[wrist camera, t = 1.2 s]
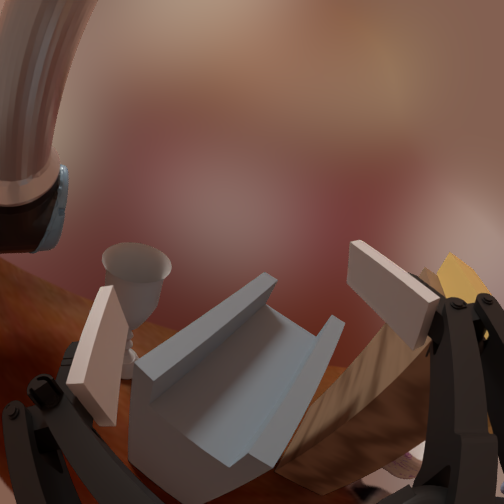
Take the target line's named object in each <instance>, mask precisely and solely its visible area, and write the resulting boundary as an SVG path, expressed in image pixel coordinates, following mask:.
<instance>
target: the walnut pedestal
mask: <svg viewBox="0 0 504 504" xmlns="http://www.w3.org/2000/svg"><path fill="white" fill-rule="evenodd" d="M419 278H420V279H422V280H423V281H424V282H426V283H427V284H428V285H429V286H431V287H432V288H434V289H435V290H436V291H438V292H439V293H440V294H442V295H443V296H444V297H446V296H445V294H444V291H443V288H442V286H441V283H440V280H439V278H438V276H437V275H435V274H434V273H433V272H431V271H430V270H428V269H427V268H426V267H425V268H424V269H423V271H422V272H421V274H420V276H419ZM431 340H432V339H431V338H430V337H429V336H427V338H426V341H425V344H424V345H423V346H421V347H419V348H417V349H415V350H412V349H411V348H410V347H409V346H408V345H407V344H406V343H405V342H404V341H403V340H402V339H401V338H400V337H399V336H398V335H397V334H396V332H395V331H394V330H393V329H392V328H391V327H390V326H389V325H388V324H387V323H385V324H384V326H383V327H382V328H381V330H380V331H379V332H378V333H377V334H376V336H375V337H374V338H373V339H372V340H371V342H370V343H369V344H368V345H367V346H366V348H365V349H364V350H363V351H362V352H361V353H360V355H359V356H358V357H357V358H356V359H355V360H354V361H353V363H352V364H351V365H350V366H349V367H348V368H347V369H346V370H345V371H344V373H343V374H342V375H341V376H340V377H339V378H338V379H337V380H336V381H335V382H334V383H333V384H332V385H331V386H330V387H329V388H328V389H327V390H326V391H325V392H324V393H323V394H322V395H321V396H320V397H319V398H318V399H317V400H316V401H315V402H314V403H313V404H312V405H311V406H310V408H309V410H308V412H307V414H306V416H305V418H304V420H303V421H302V423H301V425H300V427H299V429H298V431H297V433H296V435H295V436H294V438H293V440H292V442H291V444H290V445H289V447H288V449H287V451H286V452H285V454H284V456H283V457H282V459H281V461H280V462H279V464H278V466H277V467H276V469H275V471H274V472H276V473H278V474H279V475H281V476H283V477H285V478H287V479H289V480H291V481H293V482H295V483H296V484H298V485H300V486H303V487H305V488H307V489H309V490H311V491H313V492H315V493H317V494H320V495H325V494H327V493H330V492H332V491H335V490H337V489H339V488H342V487H344V486H346V485H348V484H350V483H353V482H355V481H357V480H359V479H361V478H363V477H365V476H367V475H369V474H371V473H373V472H375V471H376V470H378V469H380V468H382V467H384V466H385V465H387V464H389V463H391V462H392V461H394V460H396V459H397V458H399V457H401V456H402V455H404V454H406V453H407V452H409V451H410V450H412V449H413V448H415V447H416V446H418V445H419V444H421V443H422V442H424V441H425V440H426V432H427V422H428V411H429V394H430V353H429V354H428V356H427V357H425V355H426V352H427V350H428V348H429V345H430V343H431Z"/></svg>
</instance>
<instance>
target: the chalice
mask: <svg viewBox="0 0 504 504" xmlns="http://www.w3.org/2000/svg"><path fill="white" fill-rule="evenodd" d="M102 262H103V264H104V266H105V269H106V278H105V286H110V285H113V286H114V289H115V292H116V295H117V297H118V300H119V303H120V306H121V308H122V311H123V313H124V316H125V319H126V321H127V324H128V326H129V328H128V334H127V340H126V346H125V352H124V358H123V365H122V372H121V378H122V379H131V378H132V376H133V367H134V362H135V361H137V360H138V359H139V358H138V356H137V354H136V353H135V352H134V351H133V350H132V349H130V348H131V347H132V346H133V343H132V341H131V340H130V339H131V338H132V337H133V333H132V332H131V330H134V329H136V328H138V327H139V326H140V325H141V324H142V323H143V322H144V321H145V320H146V319H147V318H148V317H149V316H150V315H151V314H152V312H153V311H154V310H155V308H156V307H157V304H158V301H159V297H160V292H161V288H162V284H163V280H164V278H165V277H166V276H168V275H169V274H170V271H171V268H172V266H171V262H170V260H169V259H168V257H167V256H166V255H165V254H164V253H162V252H161V251H160V250H158V249H156V248H153V247H151V246H148V245H145V244H141V243H132V242H129V243H119V244H116V245H113V246H111V247H109V248H108V249H106V251H105V252H104V253H103V256H102Z"/></svg>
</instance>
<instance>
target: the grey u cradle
mask: <svg viewBox="0 0 504 504" xmlns="http://www.w3.org/2000/svg"><path fill="white" fill-rule="evenodd" d="M277 281H278V280H277V279H275V278H273V277H272V276H270V275H269V274H267V273H266V272H264V273H262V274H261V275H260V276H258V277H257V278H256V279H254V280H253V281H251V282H250V283H248V284H247V285H246V286H244V287H243V288H241V289H240V290H239V291H237V292H236V293H234V294H233V295H231V296H230V297H229V298H227V299H226V300H224V301H223V302H222V303H220V304H219V305H217V306H216V307H214V308H213V309H211V310H210V311H209V312H207V313H206V314H204V315H203V316H201V317H200V318H199V319H197V320H196V321H194V322H193V323H192V324H190V325H188V326H187V327H185V328H184V329H183V330H181V331H180V332H178V333H177V334H175V335H174V336H172V337H171V338H169V339H168V340H166V341H165V342H163V343H162V344H161V345H159V346H158V347H156V348H155V349H153V350H152V351H150V352H149V353H147V354H146V355H144V356H143V357H141V358H140V359H138V360H137V361H135V362H134V367H133V376H132V387H131V399H130V414H129V436H128V461H129V462H131V463H132V464H133V465H134V466H135V467H136V468H137V469H138V470H140V471H141V472H142V473H143V474H144V475H146V476H147V477H148V478H149V479H150V480H152V481H153V482H154V483H155V484H157V485H158V486H159V487H160V488H162V489H163V490H164V491H166V492H167V493H168V494H170V495H171V496H173V497H174V498H175V499H177V500H178V501H180V502H181V503H182V504H204V503H206V502H208V501H211V500H213V499H215V498H217V497H219V496H222V495H224V494H226V493H228V492H230V491H232V490H234V489H236V488H238V487H240V486H242V485H244V484H246V483H248V482H249V481H251V480H253V479H255V478H257V477H258V476H260V475H262V474H264V473H265V472H267V471H269V470H271V469H272V468H273V467H274V466H275V464H276V462H277V461H278V459H279V457H280V456H281V454H282V452H283V451H284V449H285V447H286V446H287V444H288V442H289V440H290V439H291V437H292V435H293V433H294V431H295V430H296V428H297V426H298V424H299V422H300V420H301V419H302V417H303V415H304V413H305V411H306V409H307V407H308V405H309V403H310V401H311V399H312V397H313V395H314V393H315V391H316V389H317V387H318V385H319V383H320V381H321V378H322V376H323V374H324V372H325V370H326V368H327V365H328V363H329V361H330V359H331V356H332V354H333V352H334V349H335V347H336V345H337V342H338V340H339V338H340V335H341V333H342V330H343V328H344V325H345V323H344V322H342V321H341V320H339V319H338V318H336V317H335V316H333V315H331V317H330V318H329V320H328V321H327V322H326V324H325V325H324V327H323V328H322V330H321V331H320V333H319V334H318V335H317V336H316V337H315V336H314V335H312V334H311V333H309V332H307V331H306V330H304V329H303V328H301V327H300V326H298V325H297V324H295V323H293V322H292V321H291V320H289V319H288V318H286V317H284V316H283V315H281V314H280V313H279V312H277V311H275V310H274V309H272V308H271V307H269V306H268V305H266V302H267V300H268V298H269V296H270V294H271V292H272V290H273V289H274V287H275V284H276V283H277Z"/></svg>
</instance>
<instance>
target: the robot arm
mask: <svg viewBox="0 0 504 504" xmlns="http://www.w3.org/2000/svg"><path fill="white" fill-rule="evenodd" d="M97 1H98V0H5V3H4V6H3V9H2V12H1V16H0V254H2V253H36V252H38V251H46V250H51V249H53V248H54V247H55V246H56V245H57V244H58V242H59V239H60V236H61V233H62V228H63V223H64V216H65V213H64V211H65V208H66V203H67V195H68V180H69V179H68V169H67V167H66V166H64V165H61V164H60V159H59V155H58V153H57V151H56V149H55V148H54V147H53V146H52V140H53V134H54V129H55V123H56V119H57V114H58V110H59V106H60V102H61V98H62V94H63V90H64V86H65V83H66V80H67V77H68V73H69V70H70V67H71V64H72V61H73V58H74V55H75V52H76V50H77V47H78V44H79V42H80V39H81V37H82V34H83V32H84V30H85V27H86V25H87V22H88V20H89V18H90V16H91V14H92V12H93V10H94V8H95V6H96V3H97ZM347 284H348V285H349V286H350V287H351V288H352V289H353V290H354V291H355V292H356V293H357V294H358V295H359V296H360V297H361V298H362V299H363V300H364V301H365V302H366V303H367V304H368V305H369V306H370V307H371V308H372V309H373V310H374V311H375V312H376V313H377V314H378V315H379V316H380V317H381V318H382V319H383V320H384V321H385V322H386V323H387V324H388V325H389V326H390V327H391V328H392V329H393V330H394V331H395V332H396V334H397V335H398V336H399V337H400V338H401V339H402V340H403V341H404V342H405V343H406V344H407V345H408V346H409V347H410V348H411V349H412V350H415V349H417V348H419V347H421V346H423V345H424V344H425V341H426V338H427V336H429V337H430V338H431V339H432V340H431V343H430V345H429V348H428V350H427V352H426V355H425V357H427V356H428V354H429V353H430V394H429V411H428V422H427V432H426V440H425V447H424V454H423V460H422V465H421V468H420V470H419V472H418V474H417V476H416V478H415V480H414V484H413V487H412V488H411V487H410V485H407V486H405V487H404V488H402V489H400V490H398V491H397V492H395V493H393V494H391V495H390V496H388V497H386V498H384V499H382V500H381V501H379V502H378V503H377V504H504V498H503V497H495V493H496V483H497V468H498V457H499V461H500V464H501V467H502V470H503V473H504V310H503V309H502V307H501V306H500V304H499V303H498V302H497V300H496V299H495V298H494V297H493V296H491V295H490V294H488V293H479V294H478V295H477V297H476V300H475V303H468V304H467V303H466V302H465V301H464V300H462V299H460V298H457V297H450V298H446V297H444V296H443V295H442V294H440V293H439V292H438V291H436V290H435V289H434V288H432V287H431V286H429V285H428V284H427V283H426V282H424V281H423V280H422V279H420V278H419V277H418V276H416V275H413V274H411V273H407V272H406V271H404V270H403V269H401V268H400V267H399V266H397V265H396V264H395V263H393V262H392V261H390V260H389V259H388V258H386V257H385V256H383V255H382V254H380V253H379V252H378V251H376V250H375V249H373V248H372V247H370V246H369V245H367V244H366V243H364V242H363V241H362V240H357V241H353V242H350V248H349V261H348V274H347ZM128 328H129V326H128V324H127V321H126V319H125V316H124V313H123V311H122V308H121V306H120V303H119V300H118V297H117V295H116V292H115V289H114V286H113V285H110V286H105V287H100V290H99V292H98V294H97V296H96V299H95V301H94V303H93V306H92V308H91V311H90V314H89V316H88V319H87V321H86V324H85V327H84V329H83V332H82V335H81V338H80V341H78V342H72V343H71V344H70V345H69V347H68V348H67V349H66V351H65V354H64V357H63V360H62V362H61V367H60V368H59V371H58V374H57V377H56V380H54V378H53V377H52V376H51V375H49V374H40V375H38V376H36V377H35V378H33V379H32V380H31V382H30V383H29V385H28V388H27V395H28V396H29V397H30V399H31V400H32V401H33V402H34V403H35V405H34V406H31V407H27V408H26V407H25V406H24V405H23V404H22V403H21V402H20V401H17V400H15V401H12V402H10V403H8V404H7V405H6V407H5V408H4V410H3V414H2V422H3V434H4V443H5V451H6V457H7V463H8V469H9V474H10V479H11V483H12V488H13V492H14V496H15V499H16V503H17V504H81V501H80V499H79V497H78V495H77V492H76V490H75V487H74V485H73V482H72V480H71V477H70V474H69V472H68V469H67V466H66V463H65V460H64V457H63V454H62V452H63V453H64V455H65V457H66V458H67V460H68V461H69V463H70V464H71V466H72V467H73V469H74V470H75V472H76V473H77V475H78V476H79V478H80V479H81V480H82V482H83V483H84V485H85V486H86V487H87V489H88V490H89V491H90V493H91V494H92V495H93V496H94V498H95V499H96V500H97V501H98V503H99V504H165V503H164V502H162V501H161V500H160V499H159V498H158V497H157V496H156V495H155V494H153V493H152V492H151V491H150V490H149V489H148V488H147V487H146V486H145V485H144V484H143V483H142V482H141V481H140V480H139V479H138V478H137V477H136V476H135V475H134V474H133V473H132V472H131V471H130V470H129V469H128V468H127V467H126V466H125V465H124V464H123V462H122V461H121V460H120V459H119V458H118V457H117V456H116V455H115V453H114V452H113V451H112V450H111V449H110V448H109V446H108V445H107V444H106V443H105V442H104V440H103V439H102V438H101V437H100V435H99V434H98V433H97V432H96V430H95V429H94V428H93V427H92V424H93V419H94V420H95V421H96V423H97V424H98V425H99V426H116V419H117V407H118V397H119V388H120V380H121V372H122V365H123V358H124V352H125V346H126V340H127V334H128ZM486 331H488V334H489V336H488V338H487V339H485V337H484V335H485V333H486ZM487 413H488V416H489V420H490V423H491V427H492V431H493V434H490V433H489V432H488V416H487ZM61 450H62V451H61ZM501 492H502V493H503V494H504V482H503V483H502V485H501Z"/></svg>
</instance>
